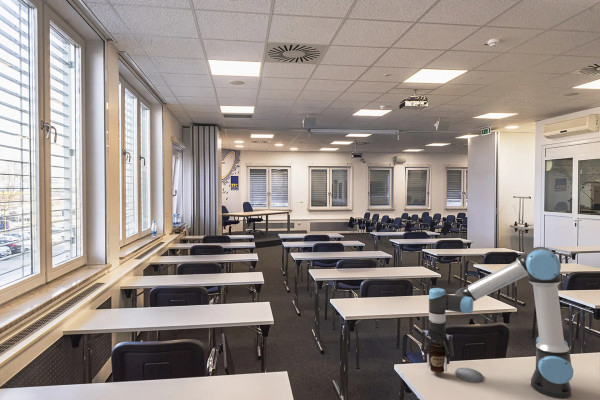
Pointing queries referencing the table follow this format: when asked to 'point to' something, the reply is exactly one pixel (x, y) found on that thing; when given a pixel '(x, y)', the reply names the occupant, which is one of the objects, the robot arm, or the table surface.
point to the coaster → (469, 374)
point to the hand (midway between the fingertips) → (437, 368)
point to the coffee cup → (436, 357)
